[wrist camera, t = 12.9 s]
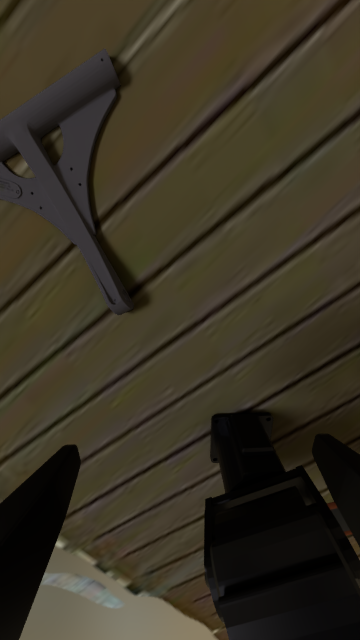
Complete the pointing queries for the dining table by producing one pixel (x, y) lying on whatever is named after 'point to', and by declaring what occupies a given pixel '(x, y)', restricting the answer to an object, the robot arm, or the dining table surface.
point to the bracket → (65, 161)
